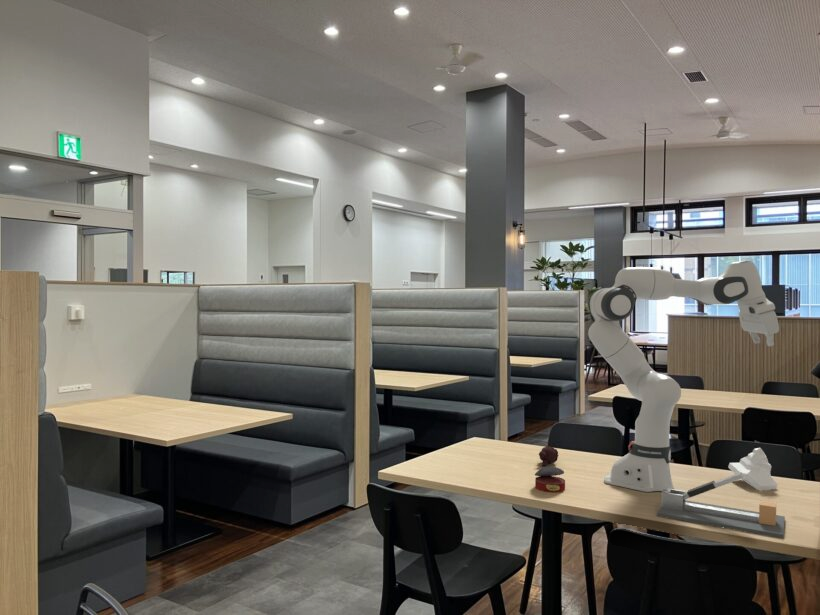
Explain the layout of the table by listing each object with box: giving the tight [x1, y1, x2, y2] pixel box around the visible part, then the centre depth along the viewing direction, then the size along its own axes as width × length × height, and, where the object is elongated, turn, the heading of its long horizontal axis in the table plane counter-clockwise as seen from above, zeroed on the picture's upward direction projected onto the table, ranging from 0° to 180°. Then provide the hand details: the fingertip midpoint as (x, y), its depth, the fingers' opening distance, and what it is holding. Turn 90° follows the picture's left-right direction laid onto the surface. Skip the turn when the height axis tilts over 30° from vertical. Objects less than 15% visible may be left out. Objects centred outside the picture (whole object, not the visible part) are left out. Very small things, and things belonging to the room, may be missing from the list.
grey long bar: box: [660, 488, 776, 525], centre depth 188 cm, size 30×6×4 cm, turn 59°
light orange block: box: [758, 500, 777, 526], centre depth 181 cm, size 4×5×5 cm
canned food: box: [534, 465, 566, 493], centre depth 216 cm, size 11×10×10 cm
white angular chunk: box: [727, 447, 779, 492], centre depth 223 cm, size 12×15×14 cm
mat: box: [656, 499, 786, 539], centre depth 188 cm, size 32×18×1 cm, turn 59°
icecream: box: [538, 445, 559, 468], centre depth 250 cm, size 7×7×15 cm
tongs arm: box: [681, 472, 743, 500], centre depth 190 cm, size 21×3×2 cm, turn 59°
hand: (764, 344), depth 221 cm, fingers open, 8 cm apart
